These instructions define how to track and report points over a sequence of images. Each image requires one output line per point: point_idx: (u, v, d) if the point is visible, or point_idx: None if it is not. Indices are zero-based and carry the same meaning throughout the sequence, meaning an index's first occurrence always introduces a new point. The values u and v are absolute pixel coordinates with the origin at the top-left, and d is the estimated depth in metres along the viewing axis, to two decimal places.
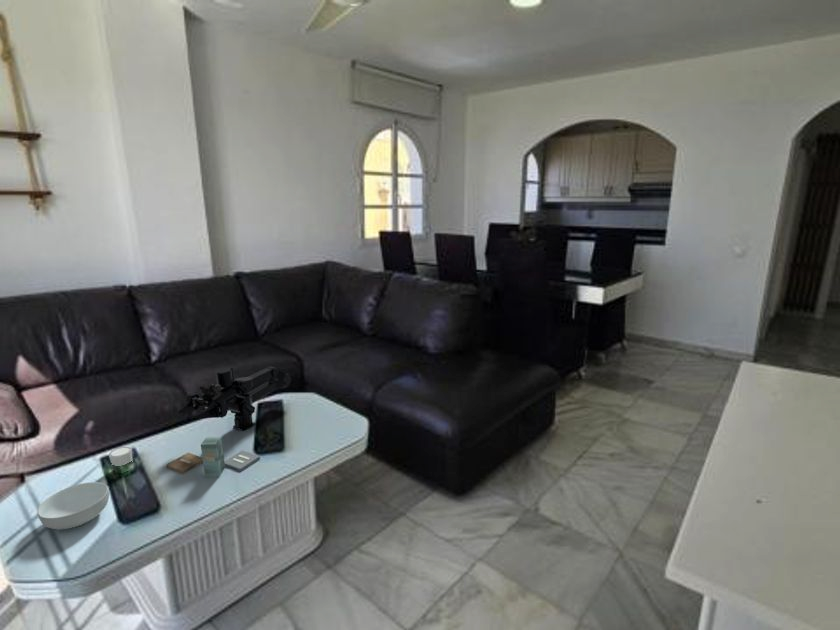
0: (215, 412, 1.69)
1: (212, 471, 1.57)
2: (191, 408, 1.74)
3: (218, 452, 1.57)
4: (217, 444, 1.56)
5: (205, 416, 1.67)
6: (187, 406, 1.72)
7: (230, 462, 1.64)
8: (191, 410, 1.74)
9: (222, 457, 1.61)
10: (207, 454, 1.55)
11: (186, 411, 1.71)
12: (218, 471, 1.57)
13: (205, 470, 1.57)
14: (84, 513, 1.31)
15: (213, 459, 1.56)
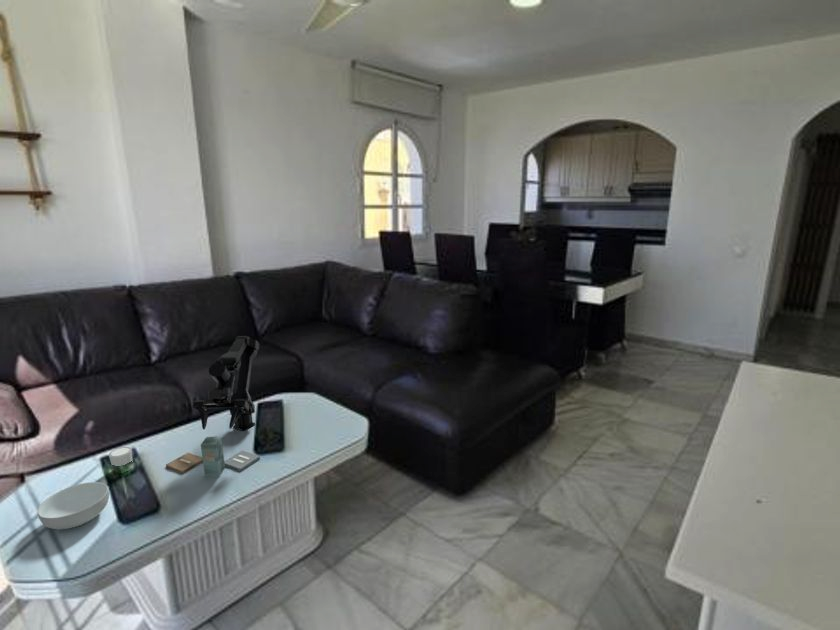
0: (240, 411, 1.67)
1: (212, 471, 1.57)
2: (206, 414, 1.66)
3: (218, 452, 1.57)
4: (217, 444, 1.56)
5: (235, 420, 1.65)
6: (204, 417, 1.64)
7: (230, 462, 1.64)
8: (207, 415, 1.67)
9: (222, 457, 1.61)
10: (207, 454, 1.55)
11: (206, 421, 1.65)
12: (218, 471, 1.57)
13: (205, 470, 1.57)
14: (84, 513, 1.31)
15: (213, 459, 1.56)
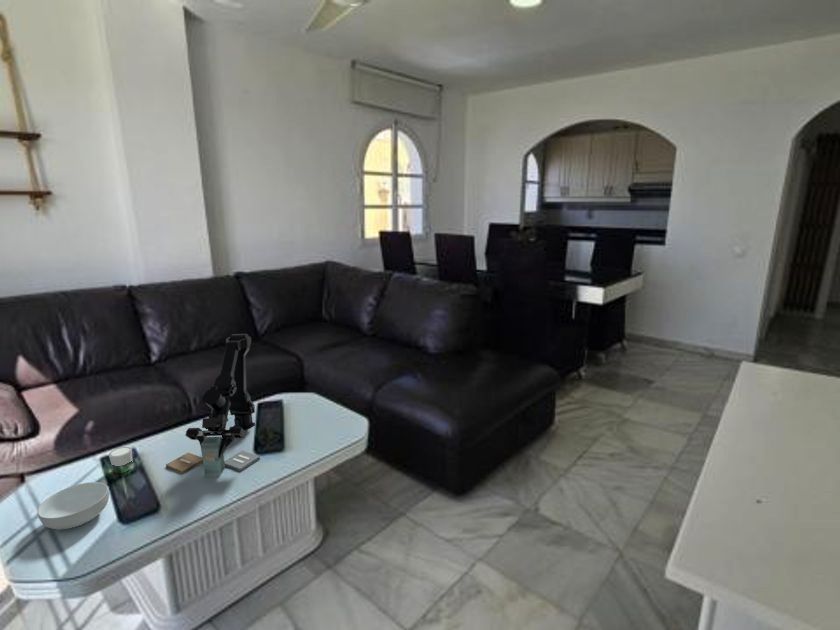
0: (229, 439, 1.61)
1: (212, 471, 1.57)
2: None
3: (218, 452, 1.57)
4: (217, 443, 1.56)
5: (224, 449, 1.60)
6: None
7: (230, 462, 1.64)
8: None
9: (222, 457, 1.61)
10: (207, 454, 1.55)
11: None
12: (218, 471, 1.57)
13: (205, 470, 1.57)
14: (84, 513, 1.31)
15: (213, 459, 1.56)
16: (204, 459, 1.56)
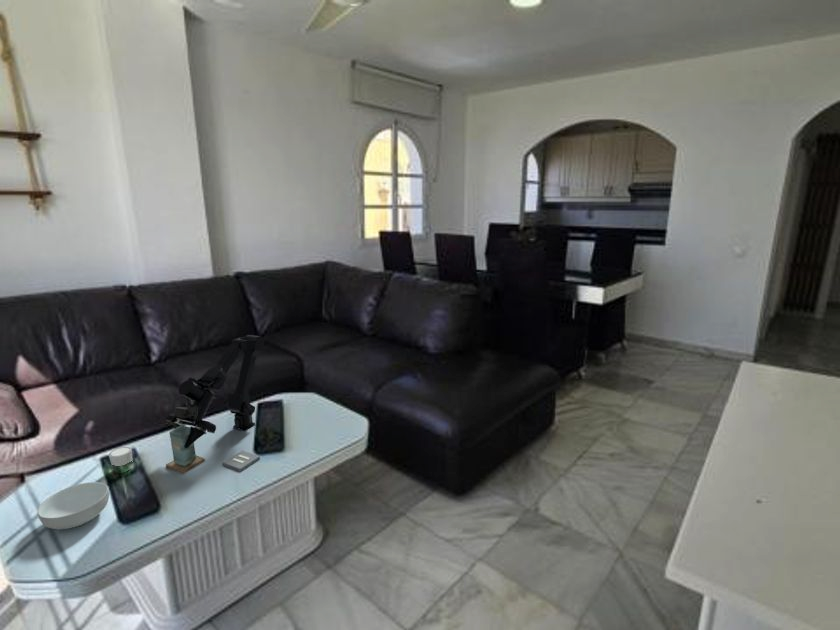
0: (200, 431, 1.64)
1: (179, 459, 1.62)
2: None
3: (184, 442, 1.61)
4: (182, 434, 1.60)
5: (193, 440, 1.63)
6: None
7: (230, 462, 1.64)
8: None
9: (192, 447, 1.64)
10: (174, 442, 1.61)
11: None
12: (183, 460, 1.62)
13: (174, 457, 1.63)
14: (84, 513, 1.31)
15: (179, 448, 1.61)
16: (172, 446, 1.62)
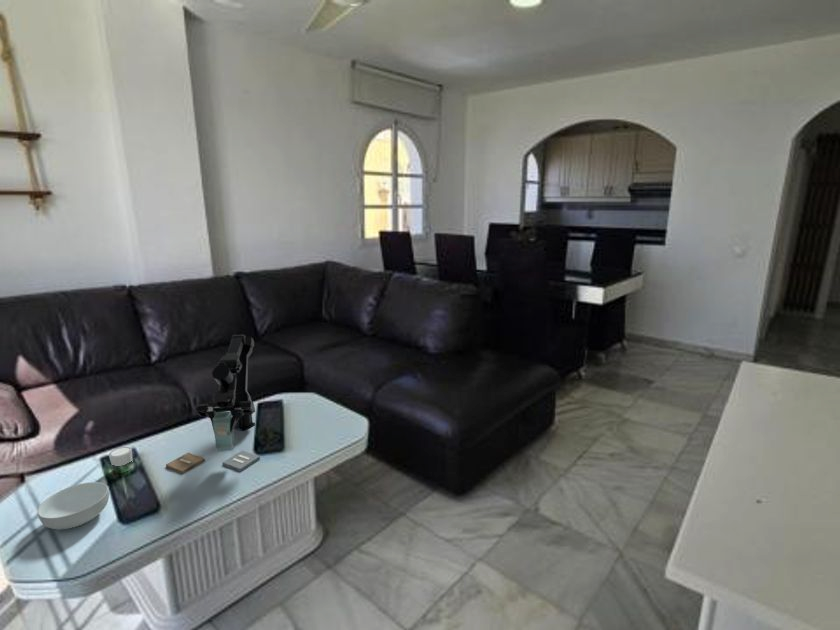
0: (239, 414, 1.65)
1: (223, 445, 1.61)
2: None
3: (229, 426, 1.61)
4: (228, 418, 1.59)
5: (235, 423, 1.64)
6: None
7: (230, 462, 1.64)
8: None
9: (232, 431, 1.64)
10: (219, 428, 1.59)
11: None
12: (230, 445, 1.61)
13: (217, 444, 1.60)
14: (84, 513, 1.31)
15: (225, 433, 1.59)
16: (216, 433, 1.59)
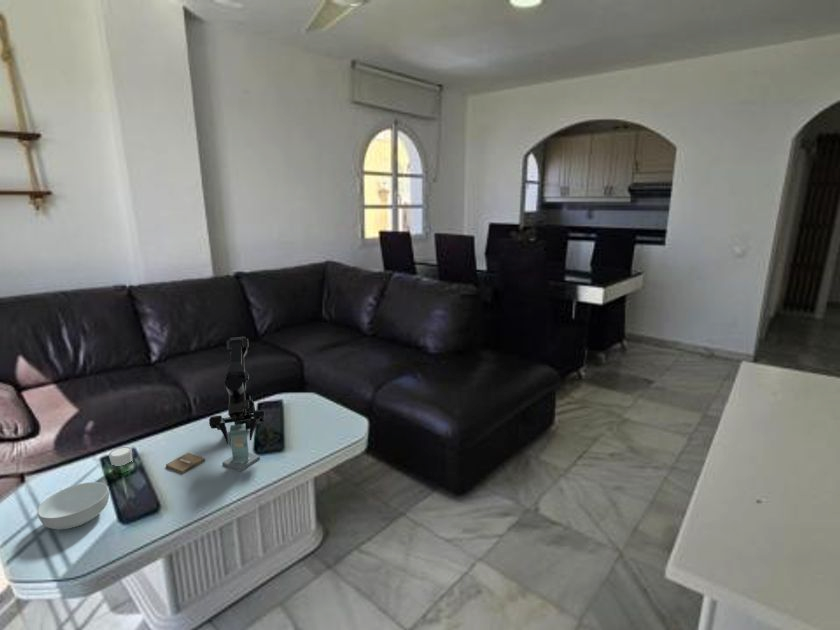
0: (256, 422, 1.69)
1: (240, 457, 1.64)
2: (226, 429, 1.66)
3: (246, 438, 1.64)
4: (245, 430, 1.63)
5: (252, 432, 1.67)
6: (226, 432, 1.64)
7: (230, 462, 1.64)
8: (226, 430, 1.66)
9: (247, 443, 1.67)
10: (236, 441, 1.62)
11: None
12: (246, 456, 1.64)
13: (233, 457, 1.63)
14: (84, 513, 1.31)
15: (242, 445, 1.63)
16: (233, 446, 1.62)
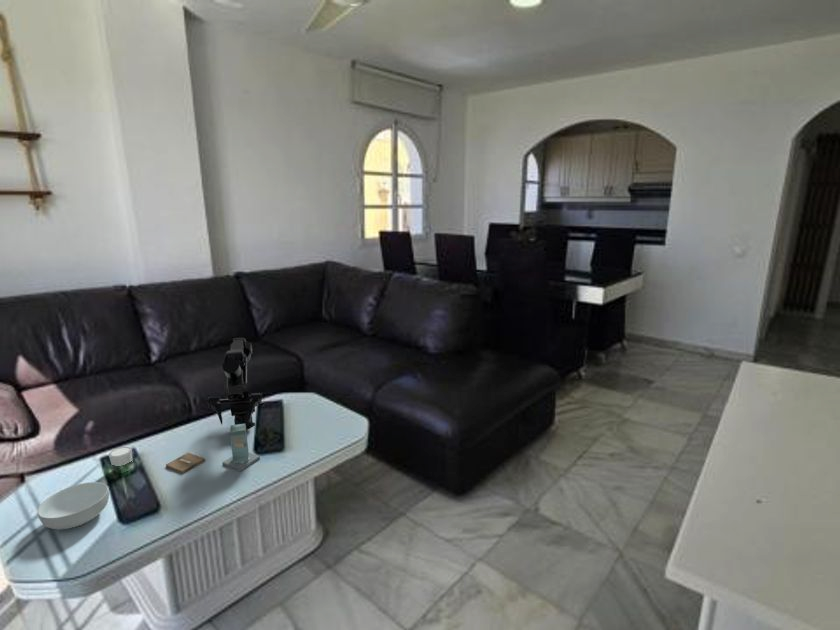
0: (254, 405, 1.74)
1: (240, 457, 1.64)
2: None
3: (246, 438, 1.64)
4: (245, 430, 1.63)
5: (251, 414, 1.72)
6: None
7: (230, 462, 1.64)
8: None
9: (247, 443, 1.67)
10: (236, 441, 1.62)
11: None
12: (246, 456, 1.64)
13: (233, 457, 1.63)
14: (84, 513, 1.31)
15: (242, 445, 1.63)
16: (233, 446, 1.62)
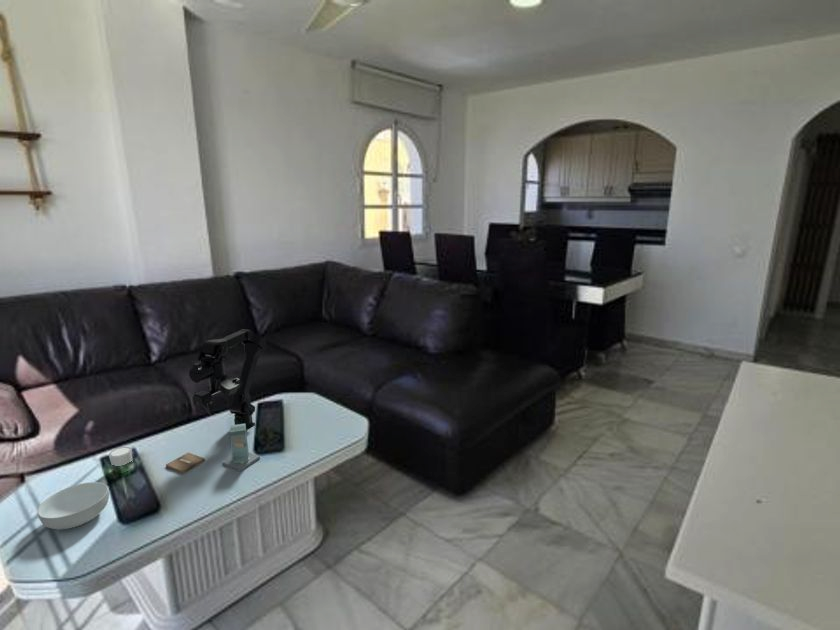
0: None
1: (240, 457, 1.64)
2: None
3: (246, 438, 1.64)
4: (245, 430, 1.63)
5: None
6: None
7: (230, 462, 1.64)
8: None
9: (247, 443, 1.67)
10: (236, 441, 1.62)
11: None
12: (246, 456, 1.64)
13: (233, 457, 1.63)
14: (84, 513, 1.31)
15: (242, 445, 1.63)
16: (233, 446, 1.62)
